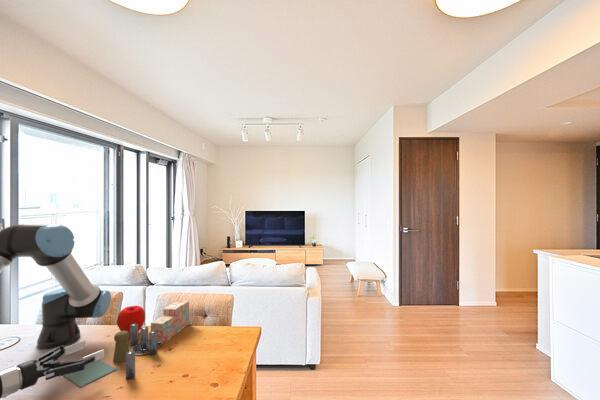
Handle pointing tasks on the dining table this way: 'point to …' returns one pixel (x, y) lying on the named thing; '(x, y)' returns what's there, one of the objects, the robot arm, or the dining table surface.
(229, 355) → the dining table surface
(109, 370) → the mat
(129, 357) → the spacer posts
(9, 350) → the dining table surface
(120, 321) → the apple
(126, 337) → the cork
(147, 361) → the dining table surface
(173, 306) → the stack of blocks
